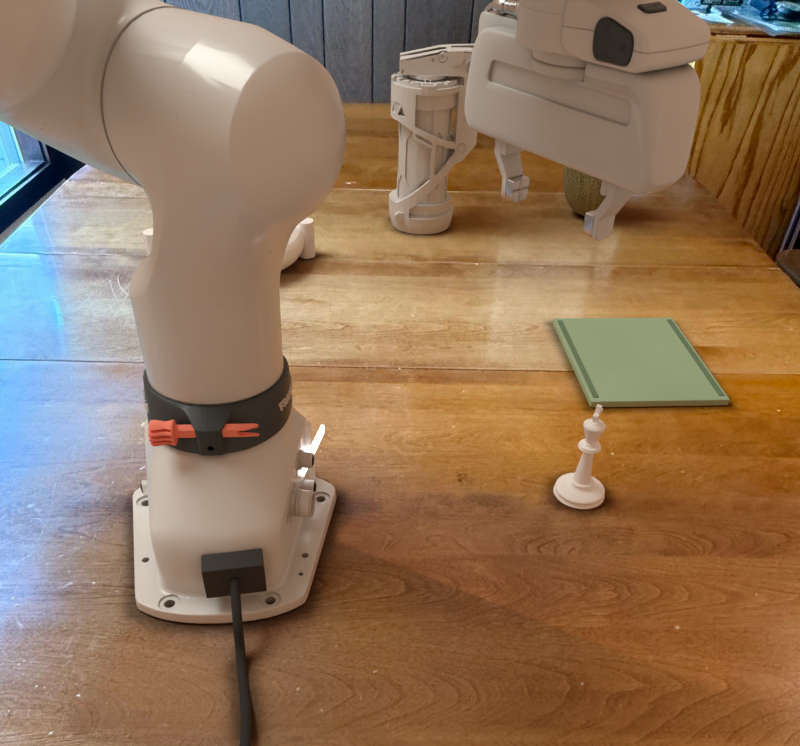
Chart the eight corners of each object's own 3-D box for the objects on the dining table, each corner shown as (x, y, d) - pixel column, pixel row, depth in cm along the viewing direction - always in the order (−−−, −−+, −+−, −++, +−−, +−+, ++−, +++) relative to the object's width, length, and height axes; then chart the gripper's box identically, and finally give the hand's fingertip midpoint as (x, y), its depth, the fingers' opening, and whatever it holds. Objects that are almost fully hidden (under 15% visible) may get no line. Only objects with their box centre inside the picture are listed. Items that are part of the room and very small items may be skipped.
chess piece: (546, 499, 75) (563, 411, 68) (562, 472, 78) (581, 385, 71) (595, 515, 73) (618, 427, 66) (610, 487, 76) (633, 400, 70)
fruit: (636, 223, 129) (659, 124, 119) (578, 230, 126) (597, 130, 116) (599, 200, 137) (617, 105, 127) (544, 206, 134) (558, 110, 124)
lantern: (388, 234, 122) (391, 51, 106) (388, 210, 130) (391, 36, 113) (469, 236, 123) (486, 54, 106) (465, 212, 131) (479, 39, 114)
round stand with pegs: (153, 305, 102) (142, 252, 97) (146, 236, 119) (137, 188, 114) (331, 289, 107) (329, 237, 103) (301, 225, 124) (298, 178, 120)
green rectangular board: (728, 405, 88) (730, 398, 87) (590, 407, 87) (591, 400, 86) (670, 322, 103) (672, 316, 102) (552, 323, 102) (553, 317, 101)
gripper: (451, -4, 58) (442, 187, 67) (668, 47, 46) (620, 271, 55) (514, -12, 61) (497, 172, 70) (734, 35, 49) (678, 250, 58)
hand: (553, 217), depth 63 cm, fingers open, 8 cm apart
